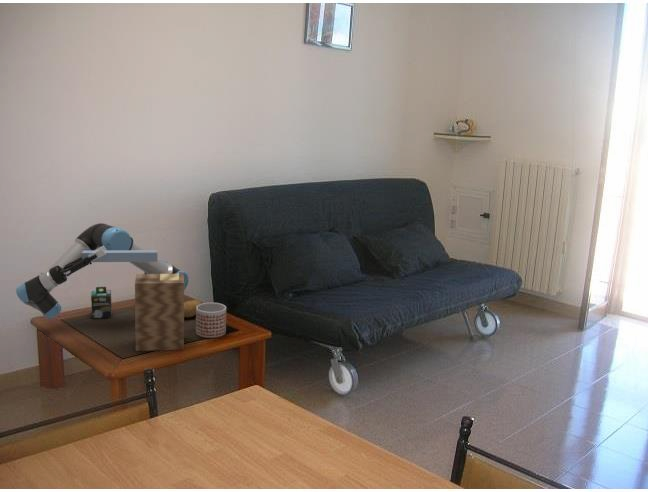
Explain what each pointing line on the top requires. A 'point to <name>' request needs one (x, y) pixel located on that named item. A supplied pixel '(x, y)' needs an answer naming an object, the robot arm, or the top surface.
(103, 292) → the chalk box
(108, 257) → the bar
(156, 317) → the stand
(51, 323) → the top surface
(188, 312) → the potato
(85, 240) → the robot arm
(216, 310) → the planter
